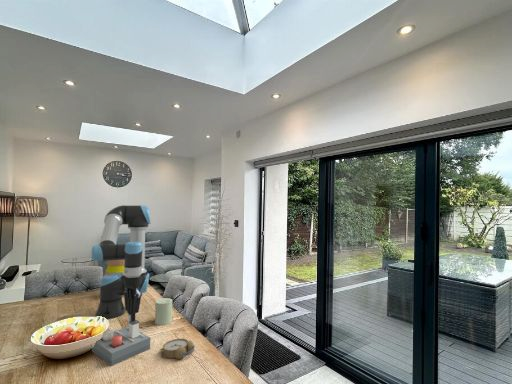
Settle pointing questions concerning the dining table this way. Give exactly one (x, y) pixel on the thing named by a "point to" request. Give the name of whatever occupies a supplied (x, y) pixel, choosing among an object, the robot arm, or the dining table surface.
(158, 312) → the can
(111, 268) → the vase
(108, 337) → the button cream
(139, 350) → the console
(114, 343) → the button red
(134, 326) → the slider knob
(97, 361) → the dining table surface
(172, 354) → the alarm clock
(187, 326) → the dining table surface
